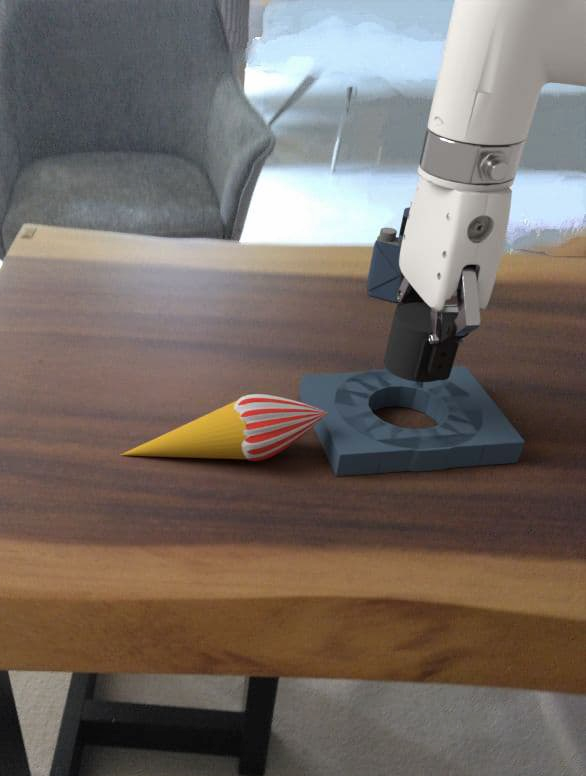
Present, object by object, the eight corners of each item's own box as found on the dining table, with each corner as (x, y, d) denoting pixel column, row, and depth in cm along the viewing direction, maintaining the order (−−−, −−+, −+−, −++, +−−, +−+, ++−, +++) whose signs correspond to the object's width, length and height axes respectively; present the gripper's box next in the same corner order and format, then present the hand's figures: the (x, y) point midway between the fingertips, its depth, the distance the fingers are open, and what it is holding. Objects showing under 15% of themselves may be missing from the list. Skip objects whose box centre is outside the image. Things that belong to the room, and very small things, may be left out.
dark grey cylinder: (433, 348, 78) (446, 300, 74) (457, 380, 73) (472, 331, 70) (375, 351, 77) (385, 303, 73) (395, 384, 72) (407, 334, 69)
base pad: (459, 384, 86) (464, 364, 84) (518, 464, 76) (526, 443, 74) (298, 394, 84) (301, 373, 82) (336, 477, 74) (340, 456, 72)
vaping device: (401, 304, 100) (422, 208, 92) (362, 294, 102) (379, 199, 94) (408, 297, 102) (429, 201, 94) (369, 287, 104) (387, 192, 96)
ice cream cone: (131, 483, 79) (330, 443, 77) (121, 490, 73) (337, 447, 71) (118, 422, 78) (319, 380, 76) (106, 424, 72) (325, 378, 70)
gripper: (568, 194, 57) (494, 408, 69) (470, 125, 69) (422, 316, 81) (468, 196, 56) (411, 412, 68) (388, 126, 68) (352, 319, 80)
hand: (418, 358), depth 74 cm, fingers closed on dark grey cylinder, 6 cm apart
